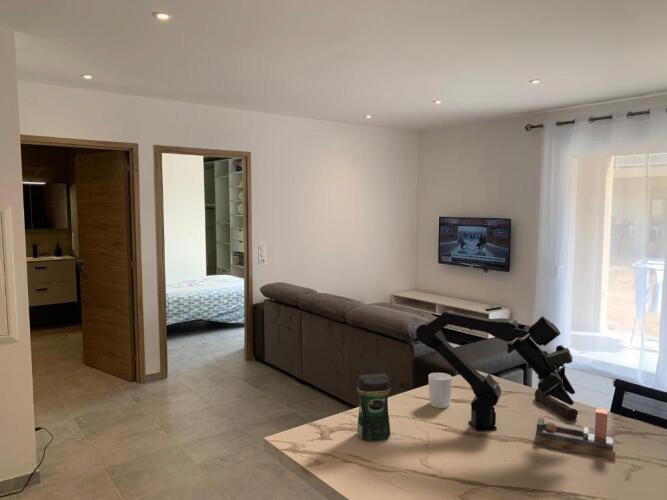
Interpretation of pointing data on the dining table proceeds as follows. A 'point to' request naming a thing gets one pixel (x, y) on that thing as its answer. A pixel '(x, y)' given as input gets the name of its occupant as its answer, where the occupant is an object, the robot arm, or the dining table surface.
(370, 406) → the coffee jar
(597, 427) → the lever
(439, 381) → the white cup
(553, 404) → the dark brown bar
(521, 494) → the dining table surface
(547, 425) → the nut
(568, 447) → the ball pusher game
